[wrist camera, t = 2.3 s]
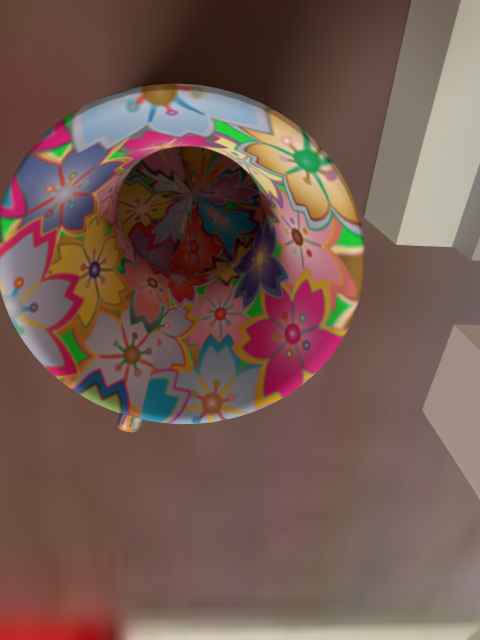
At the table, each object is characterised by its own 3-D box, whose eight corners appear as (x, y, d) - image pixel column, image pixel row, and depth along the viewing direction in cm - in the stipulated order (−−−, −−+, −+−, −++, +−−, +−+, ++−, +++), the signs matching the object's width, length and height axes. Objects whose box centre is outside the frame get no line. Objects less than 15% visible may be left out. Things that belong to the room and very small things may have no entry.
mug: (120, 37, 17) (26, -7, 8) (323, 132, 19) (439, 186, 10) (60, 293, 22) (-38, 449, 13) (226, 342, 24) (243, 504, 15)
